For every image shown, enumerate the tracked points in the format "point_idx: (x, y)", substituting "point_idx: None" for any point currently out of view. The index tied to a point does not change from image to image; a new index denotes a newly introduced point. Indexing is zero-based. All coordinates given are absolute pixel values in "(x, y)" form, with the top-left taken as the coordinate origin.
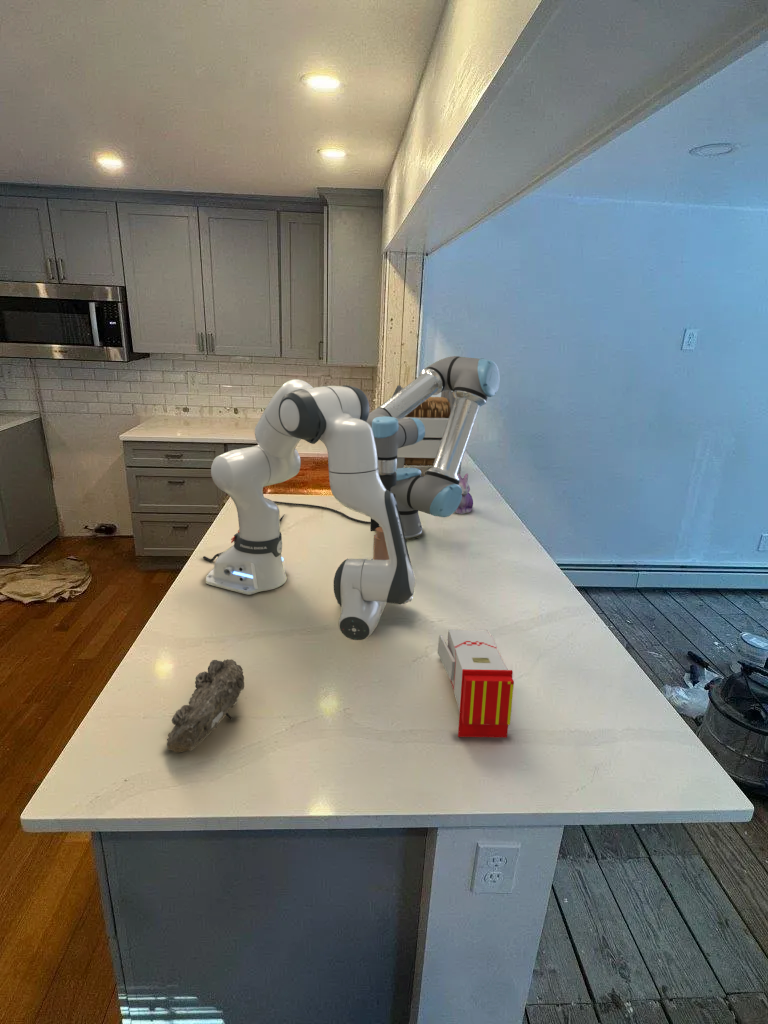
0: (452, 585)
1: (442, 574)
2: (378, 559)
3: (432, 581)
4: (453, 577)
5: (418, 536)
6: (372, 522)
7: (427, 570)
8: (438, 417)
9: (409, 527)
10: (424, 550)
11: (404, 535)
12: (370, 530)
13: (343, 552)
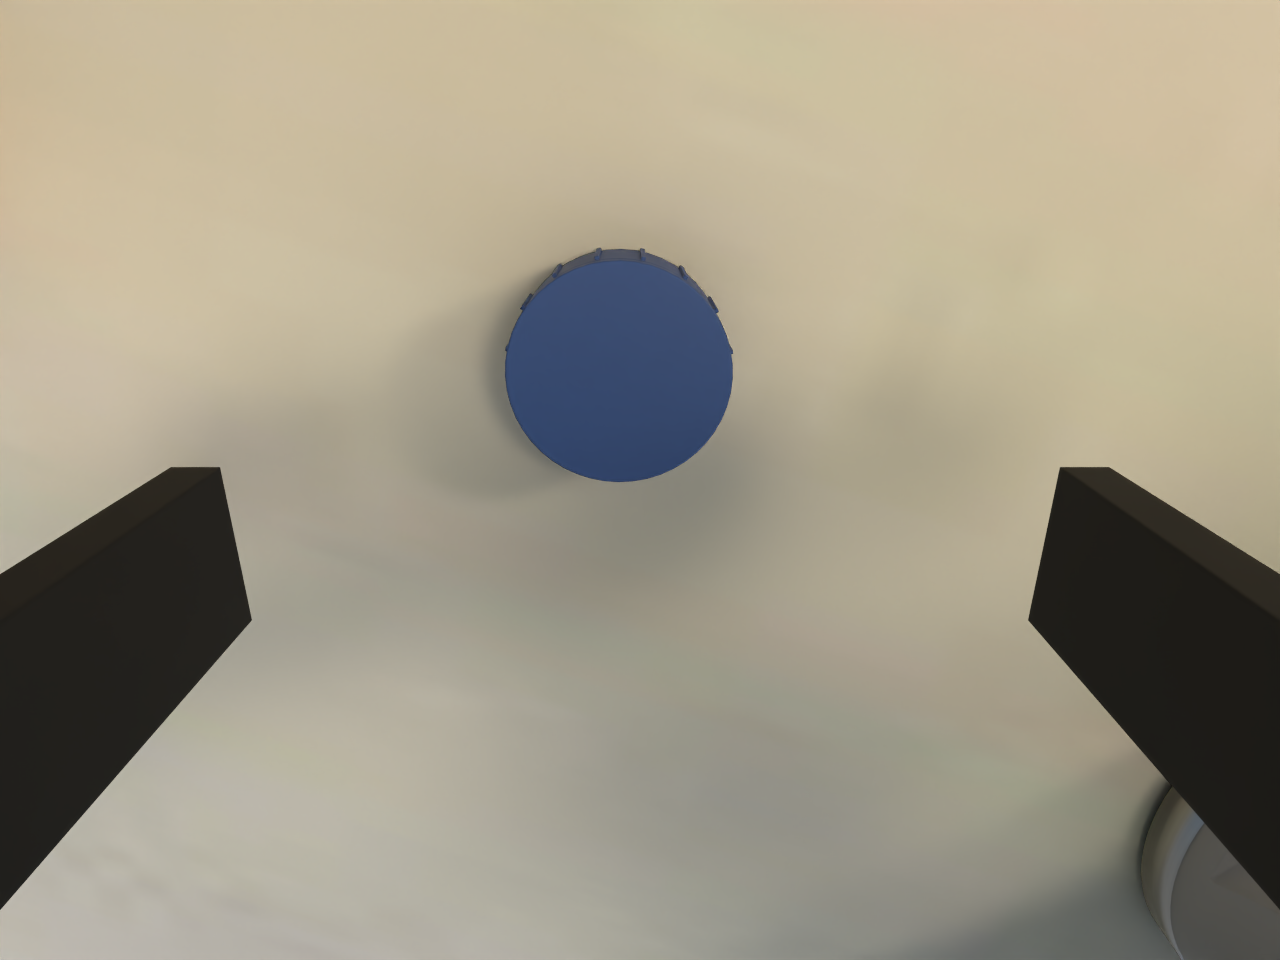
0: (159, 842)
1: (372, 844)
2: None
3: (243, 735)
4: (306, 894)
5: (1159, 926)
6: (1179, 584)
7: (469, 768)
8: None
9: (1255, 955)
10: (877, 873)
11: (1196, 840)
12: (1107, 469)
13: (1214, 43)
